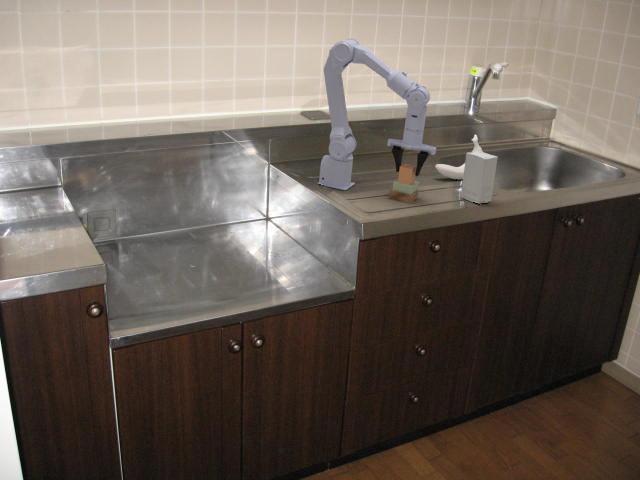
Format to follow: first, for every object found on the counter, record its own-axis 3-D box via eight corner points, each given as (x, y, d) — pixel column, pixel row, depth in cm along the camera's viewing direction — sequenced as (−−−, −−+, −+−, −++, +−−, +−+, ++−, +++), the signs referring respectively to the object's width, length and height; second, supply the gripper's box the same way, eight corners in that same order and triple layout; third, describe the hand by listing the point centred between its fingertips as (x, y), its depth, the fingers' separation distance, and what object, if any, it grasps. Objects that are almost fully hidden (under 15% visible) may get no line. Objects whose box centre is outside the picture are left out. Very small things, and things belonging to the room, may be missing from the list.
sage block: (392, 190, 213) (393, 182, 212) (399, 185, 218) (400, 177, 217) (410, 194, 210) (412, 186, 209) (417, 189, 215) (419, 182, 214)
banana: (432, 179, 236) (439, 136, 230) (471, 173, 247) (478, 133, 241) (442, 183, 232) (449, 140, 227) (481, 178, 243) (489, 136, 237)
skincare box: (491, 203, 218) (500, 157, 212) (477, 205, 215) (486, 158, 209) (472, 194, 224) (480, 149, 218) (458, 196, 221) (466, 151, 215)
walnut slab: (388, 200, 213) (390, 190, 212) (395, 194, 219) (397, 184, 218) (410, 205, 211) (412, 195, 209) (417, 198, 217) (418, 189, 215)
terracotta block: (397, 182, 212) (399, 166, 210) (401, 179, 215) (404, 163, 213) (410, 185, 210) (412, 169, 208) (414, 181, 214) (416, 166, 212)
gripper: (386, 126, 206) (380, 171, 211) (434, 136, 201) (427, 181, 206) (394, 122, 212) (388, 166, 217) (440, 131, 207) (433, 175, 212)
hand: (407, 173), depth 212 cm, fingers open, 5 cm apart
